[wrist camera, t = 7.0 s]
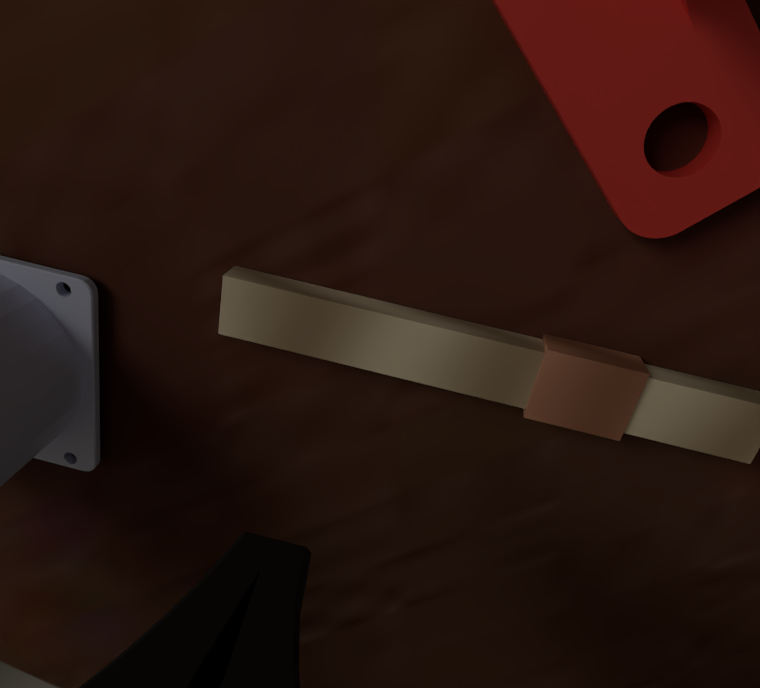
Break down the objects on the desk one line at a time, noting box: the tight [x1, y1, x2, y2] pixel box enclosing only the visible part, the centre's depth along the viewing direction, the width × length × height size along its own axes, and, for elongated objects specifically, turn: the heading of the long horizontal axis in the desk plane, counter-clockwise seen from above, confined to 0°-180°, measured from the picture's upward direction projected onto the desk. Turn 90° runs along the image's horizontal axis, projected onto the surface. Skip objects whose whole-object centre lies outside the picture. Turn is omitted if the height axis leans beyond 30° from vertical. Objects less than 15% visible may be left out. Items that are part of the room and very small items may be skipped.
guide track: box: [218, 266, 760, 464], centre depth 15 cm, size 17×19×1 cm
